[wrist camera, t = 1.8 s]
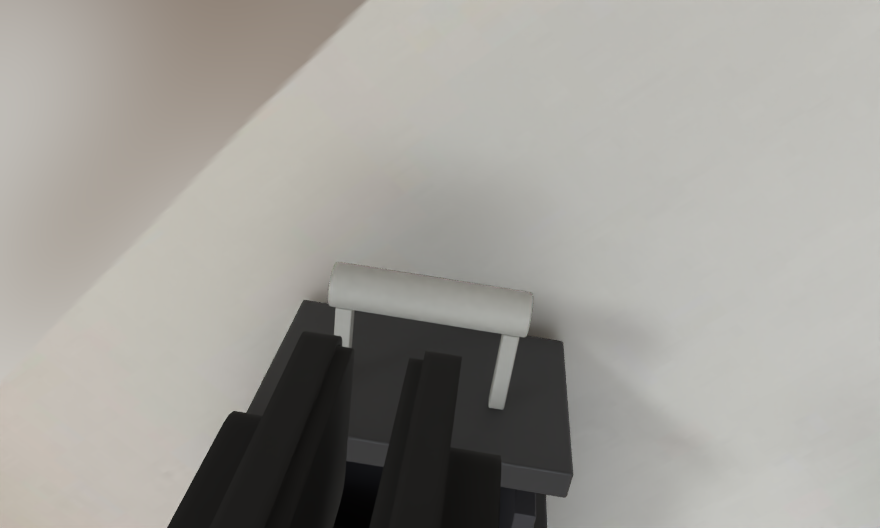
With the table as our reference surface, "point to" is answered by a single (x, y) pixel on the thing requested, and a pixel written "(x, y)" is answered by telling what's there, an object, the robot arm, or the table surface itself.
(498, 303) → the drawer
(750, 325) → the table surface
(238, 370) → the table surface
